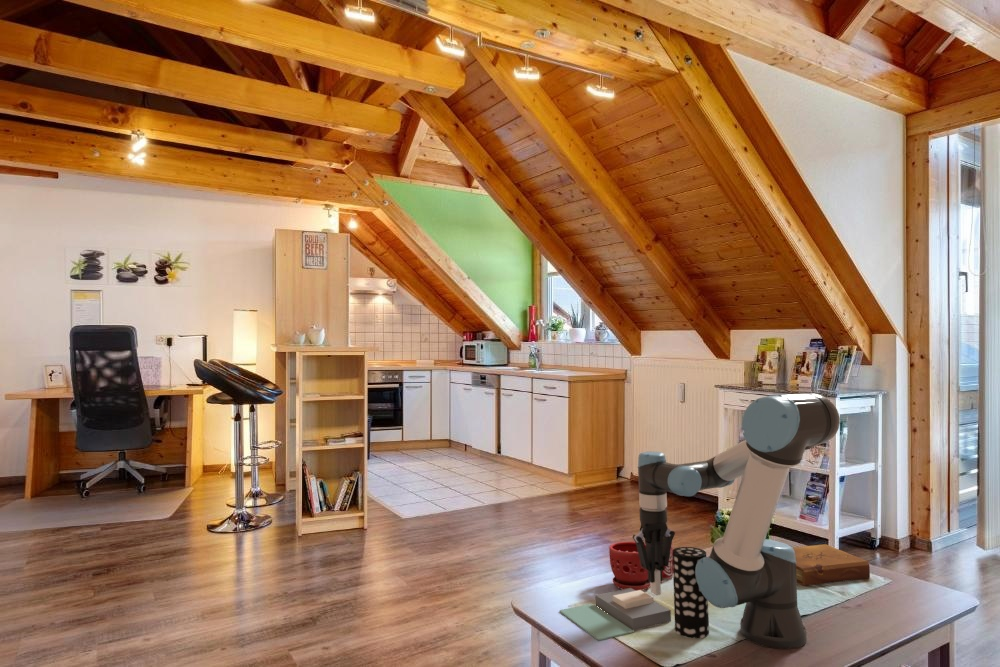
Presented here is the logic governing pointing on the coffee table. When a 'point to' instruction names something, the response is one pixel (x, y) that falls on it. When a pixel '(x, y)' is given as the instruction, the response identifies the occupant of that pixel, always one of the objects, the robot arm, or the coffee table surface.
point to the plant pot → (627, 566)
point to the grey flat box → (633, 611)
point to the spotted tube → (689, 594)
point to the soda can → (668, 567)
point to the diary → (828, 565)
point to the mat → (596, 622)
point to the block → (633, 599)
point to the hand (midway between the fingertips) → (655, 593)
